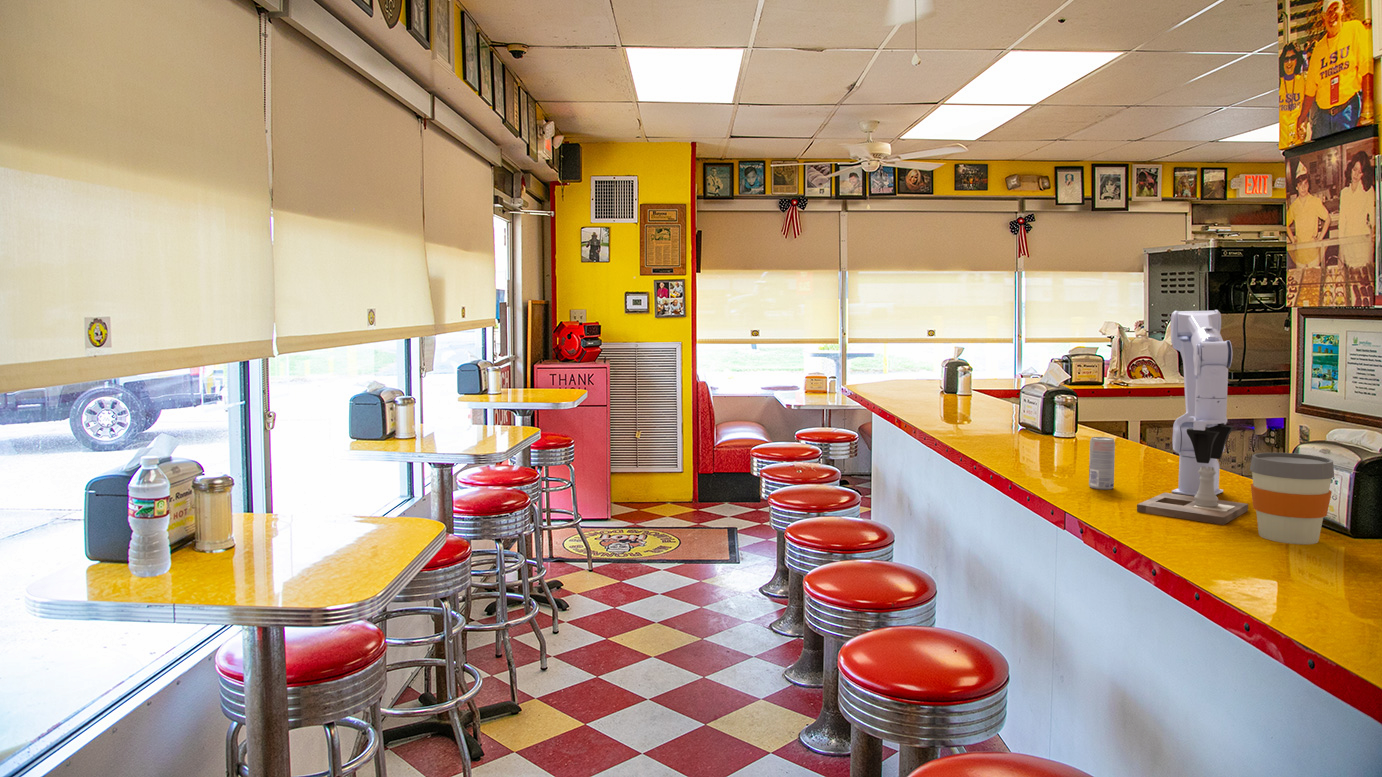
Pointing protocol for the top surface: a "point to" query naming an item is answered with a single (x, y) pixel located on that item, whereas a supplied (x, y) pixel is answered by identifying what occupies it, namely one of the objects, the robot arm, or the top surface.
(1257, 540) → the top surface
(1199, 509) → the hole board
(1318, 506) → the reusable coffee cup
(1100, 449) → the energy drink
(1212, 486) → the rook chess piece
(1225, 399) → the robot arm
